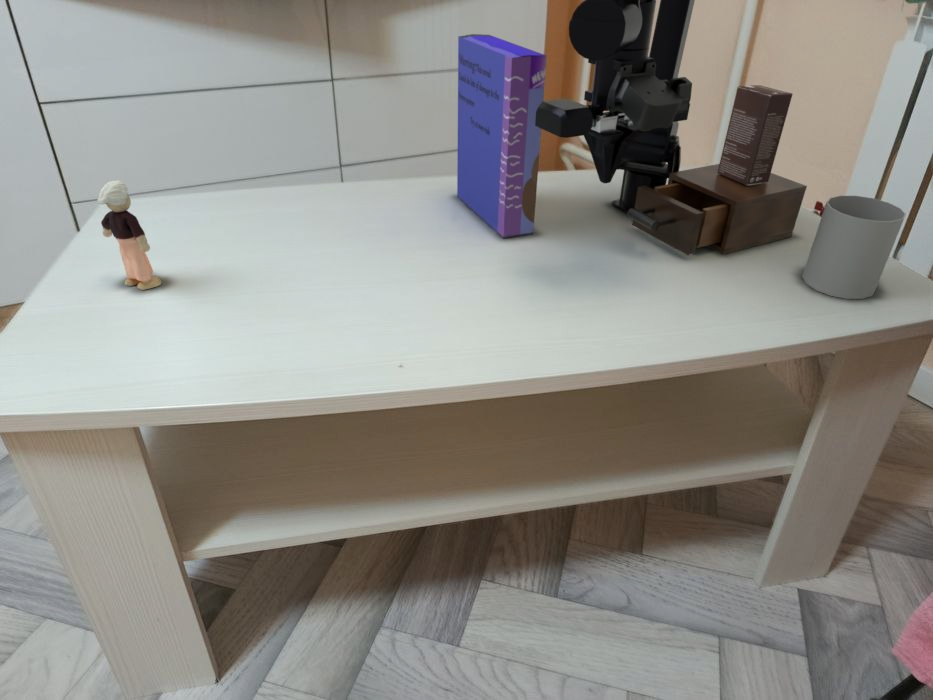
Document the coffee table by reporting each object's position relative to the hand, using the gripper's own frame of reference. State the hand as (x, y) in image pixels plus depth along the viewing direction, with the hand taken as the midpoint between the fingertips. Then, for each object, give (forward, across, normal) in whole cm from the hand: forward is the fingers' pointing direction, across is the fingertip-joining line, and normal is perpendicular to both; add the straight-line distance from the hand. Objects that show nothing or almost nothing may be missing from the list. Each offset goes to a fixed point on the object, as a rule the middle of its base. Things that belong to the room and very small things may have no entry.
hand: (604, 182), depth 83 cm
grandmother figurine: (+11, -54, +20) cm, 59 cm away
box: (+3, +25, 0) cm, 25 cm away
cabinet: (+11, +24, 0) cm, 26 cm away
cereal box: (+11, -4, +20) cm, 23 cm away
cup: (+11, +24, -19) cm, 32 cm away
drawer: (+10, +15, 0) cm, 18 cm away
